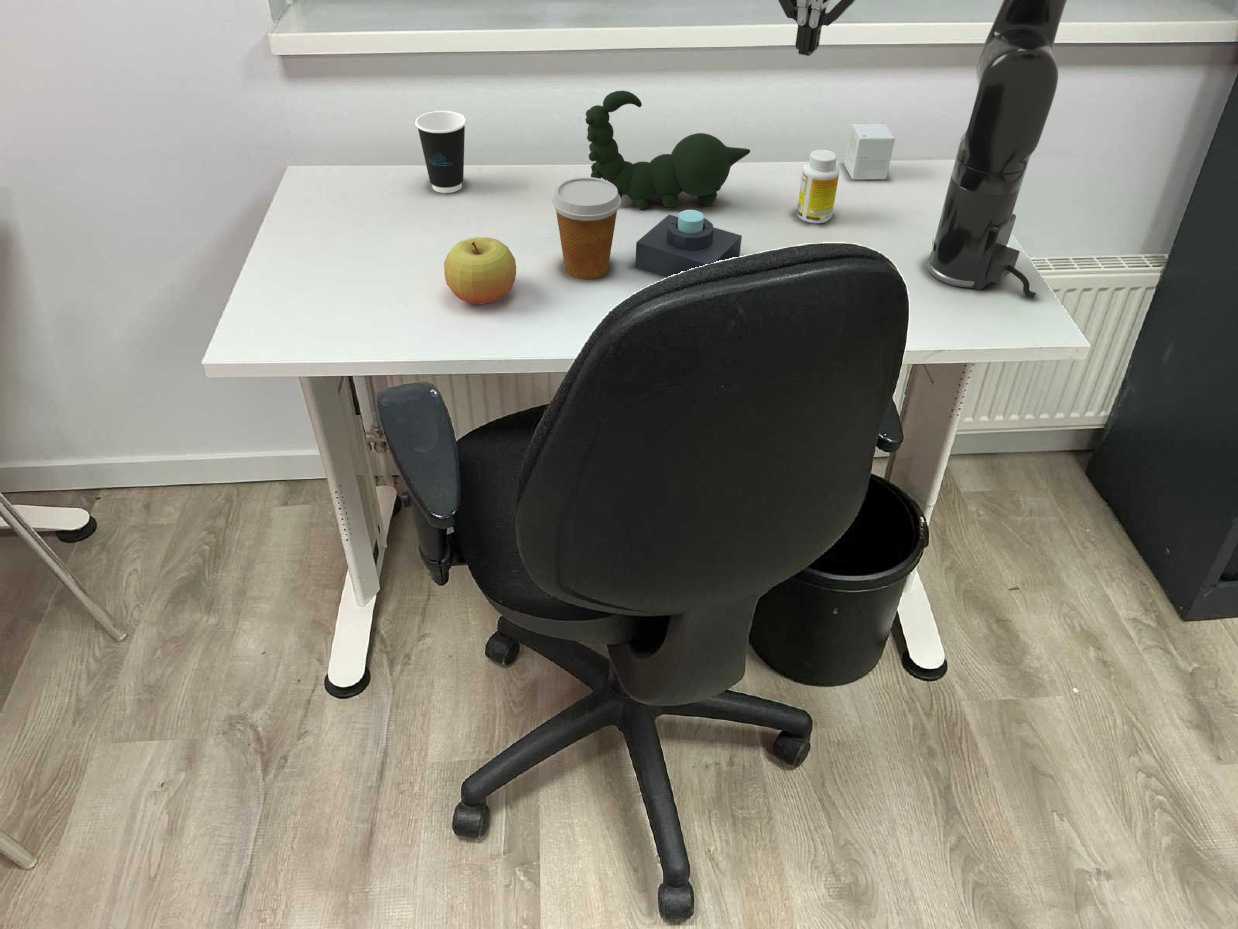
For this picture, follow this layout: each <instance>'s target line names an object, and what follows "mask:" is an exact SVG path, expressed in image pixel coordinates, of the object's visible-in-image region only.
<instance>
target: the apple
mask: <svg viewBox="0 0 1238 929" xmlns="http://www.w3.org/2000/svg"><path fill="white" fill-rule="evenodd" d="M443 267H444V268H443V270H444V279H445V283H446V286H447V287H448V288H449V290H450V291H451V292H452V293H453V294H454V296H455V297H457V298H458V299H459V300H461V301H464V302H466V303H467V304H473V305H487V304H491V303H495V302H497V301H498V300H500V299H502V298H504V297H505V296H506V294H508V292H510V290H511V289H512V288H513V286H514V284H515V282H516V276H517V262H516V258H515V256H514V255H513V253H512V251H511V250H510V248H509V247H508V245H506V244H505V243H503V242H502V241H500V240H499V239H496V238H492V237H485V236H484V237H483V236H478V237H477V236H476V237H470V238H468V239H467V238H466V239H464V240H461V241H459V242H457V243H455V245H453V246H452V248H451V249H450V250H449V252H448V253H447V255H446V257H445V259H444V263H443Z"/></svg>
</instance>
